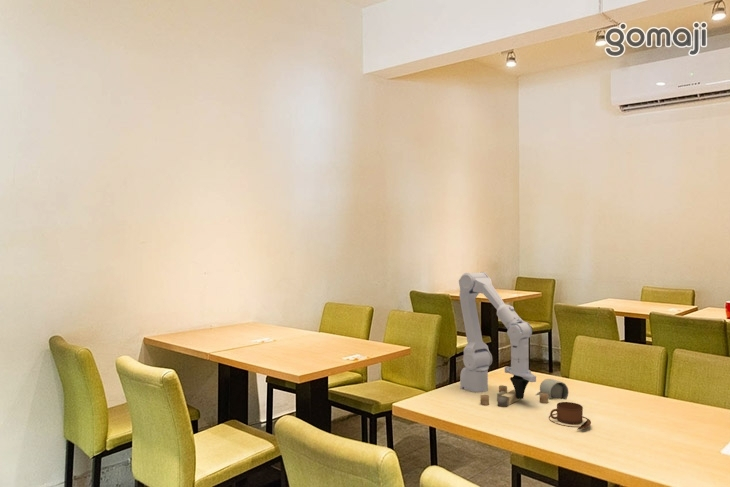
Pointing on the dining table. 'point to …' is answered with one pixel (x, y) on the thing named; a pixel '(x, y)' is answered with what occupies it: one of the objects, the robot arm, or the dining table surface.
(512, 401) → the leg bar
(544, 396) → the small brown blocks set
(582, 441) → the dining table surface
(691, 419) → the dining table surface
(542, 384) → the ceramic mug
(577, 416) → the cup and saucer
